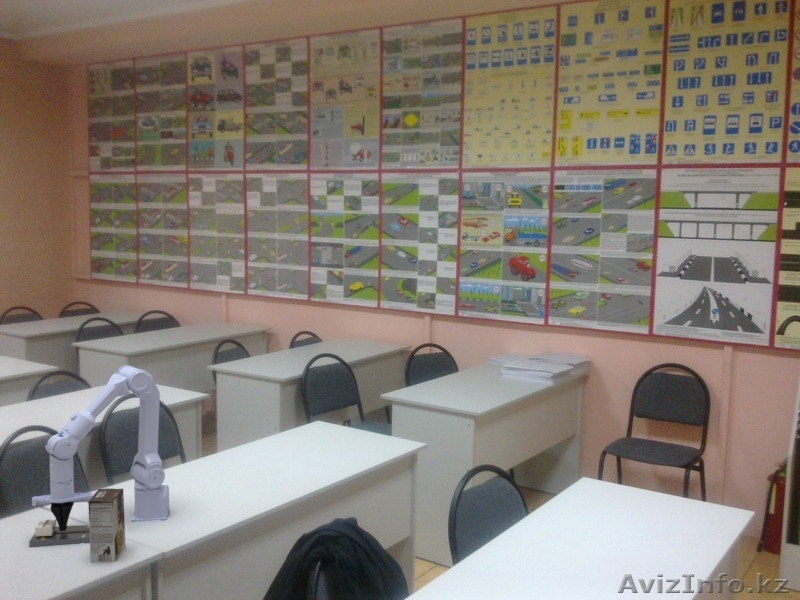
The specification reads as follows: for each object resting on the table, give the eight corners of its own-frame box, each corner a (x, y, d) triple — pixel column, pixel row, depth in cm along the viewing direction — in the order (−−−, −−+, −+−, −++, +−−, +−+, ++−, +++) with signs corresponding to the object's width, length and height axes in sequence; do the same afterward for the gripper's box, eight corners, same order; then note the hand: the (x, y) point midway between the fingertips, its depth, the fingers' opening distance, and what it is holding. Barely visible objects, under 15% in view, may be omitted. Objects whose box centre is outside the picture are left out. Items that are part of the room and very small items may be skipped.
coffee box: (100, 549, 195) (98, 488, 194) (126, 548, 196) (124, 487, 195) (89, 564, 186) (87, 500, 185) (116, 563, 187) (114, 499, 186)
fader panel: (101, 529, 207) (101, 524, 207) (94, 543, 199) (94, 537, 198) (39, 532, 205) (39, 527, 204) (29, 546, 196) (29, 540, 196)
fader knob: (56, 527, 203) (56, 518, 203) (51, 535, 198) (51, 526, 198) (40, 528, 203) (40, 519, 202) (35, 536, 198) (35, 527, 197)
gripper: (93, 473, 205) (94, 521, 207) (35, 476, 202) (37, 525, 203) (89, 482, 199) (90, 531, 200) (29, 485, 195) (31, 536, 197)
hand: (63, 529), depth 201 cm, fingers closed
